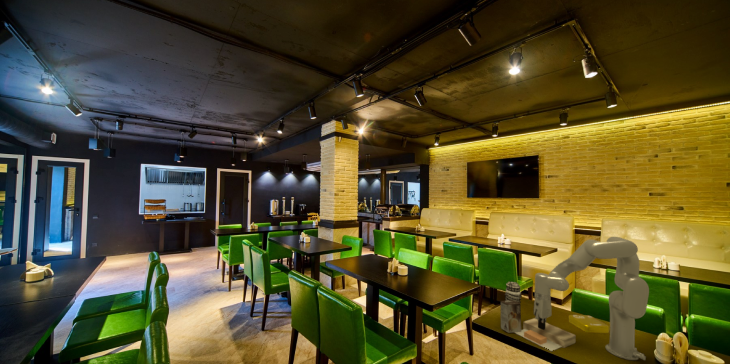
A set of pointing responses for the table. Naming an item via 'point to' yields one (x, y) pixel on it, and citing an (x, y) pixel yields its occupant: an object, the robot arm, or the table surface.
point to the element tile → (588, 324)
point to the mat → (548, 344)
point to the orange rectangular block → (535, 337)
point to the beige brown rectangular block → (551, 333)
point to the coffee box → (510, 316)
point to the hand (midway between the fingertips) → (541, 328)
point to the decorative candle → (513, 292)
